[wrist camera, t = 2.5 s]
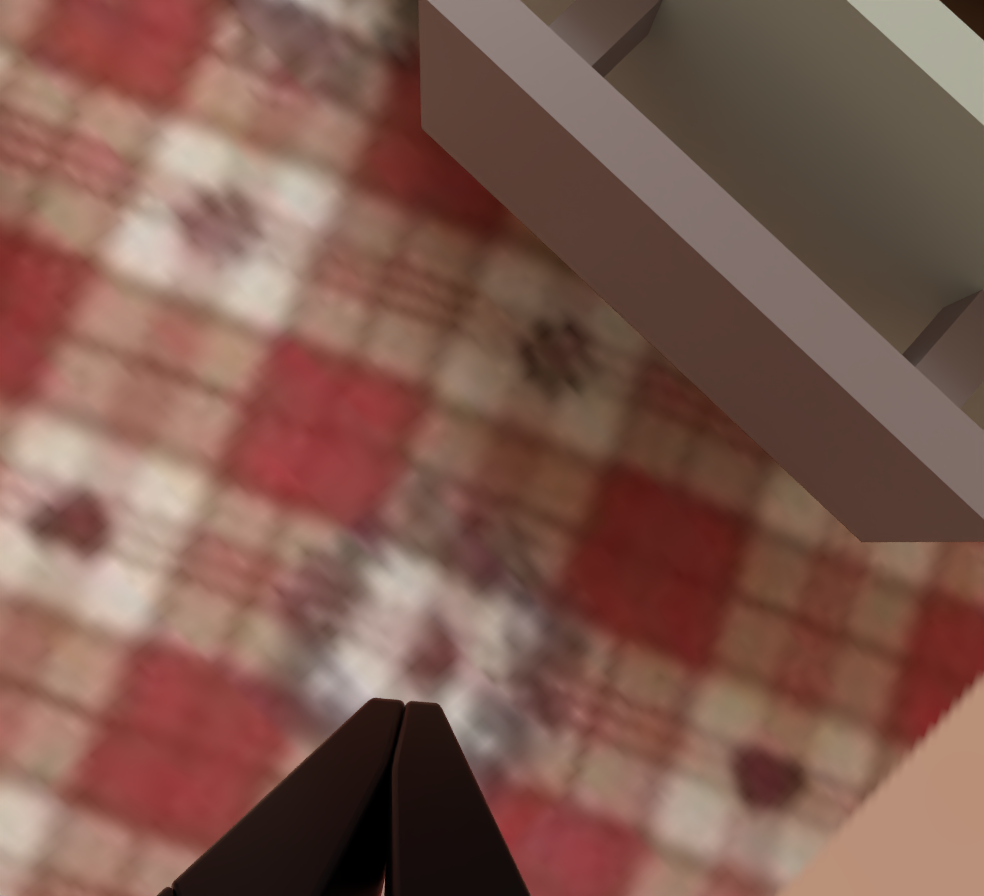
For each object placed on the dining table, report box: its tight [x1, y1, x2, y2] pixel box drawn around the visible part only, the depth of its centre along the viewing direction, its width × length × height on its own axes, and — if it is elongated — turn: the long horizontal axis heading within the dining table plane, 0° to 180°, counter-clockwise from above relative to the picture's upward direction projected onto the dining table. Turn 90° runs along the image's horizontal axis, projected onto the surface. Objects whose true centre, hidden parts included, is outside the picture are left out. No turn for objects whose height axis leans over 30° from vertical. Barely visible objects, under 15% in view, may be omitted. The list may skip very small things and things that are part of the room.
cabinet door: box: [418, 0, 984, 542], centre depth 17 cm, size 6×23×9 cm, turn 47°
